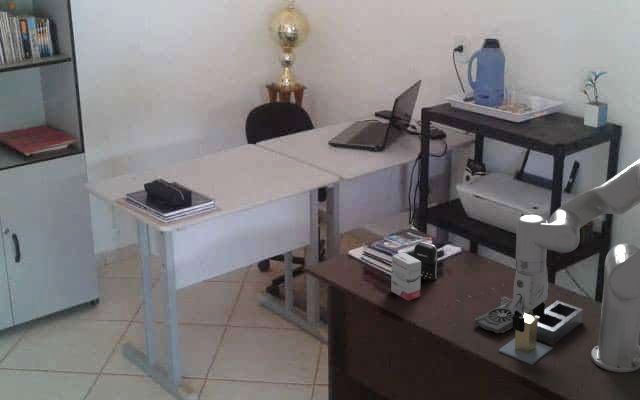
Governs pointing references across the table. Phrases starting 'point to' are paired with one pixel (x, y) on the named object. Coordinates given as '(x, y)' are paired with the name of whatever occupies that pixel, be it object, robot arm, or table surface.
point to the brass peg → (527, 335)
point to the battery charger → (427, 260)
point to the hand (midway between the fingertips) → (528, 322)
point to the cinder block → (558, 321)
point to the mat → (528, 358)
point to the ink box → (406, 276)
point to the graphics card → (499, 317)
